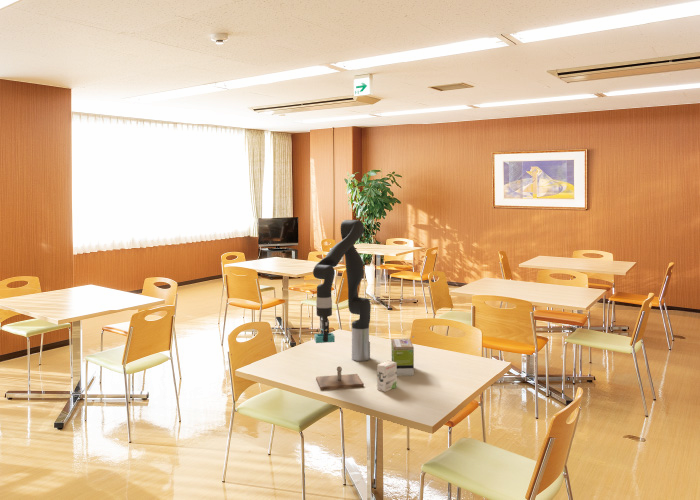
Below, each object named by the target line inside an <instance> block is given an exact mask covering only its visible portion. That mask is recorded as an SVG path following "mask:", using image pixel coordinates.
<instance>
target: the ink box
mask: <svg viewBox="0 0 700 500" xmlns="http://www.w3.org/2000/svg"><path fill="white" fill-rule="evenodd" d="M376 367H377V369H376V370H377V371H376V373H377V374H376V376H377V378H376V382H377V385H376V386H377V387H376V389H377V390H379V391H382V392H388V391H390V390H392V389H395V388H397V378H398V377H397V363H396V362H393V361H392V360H386V361H384V362H381V363H378V364H377V365H376Z"/></svg>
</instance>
